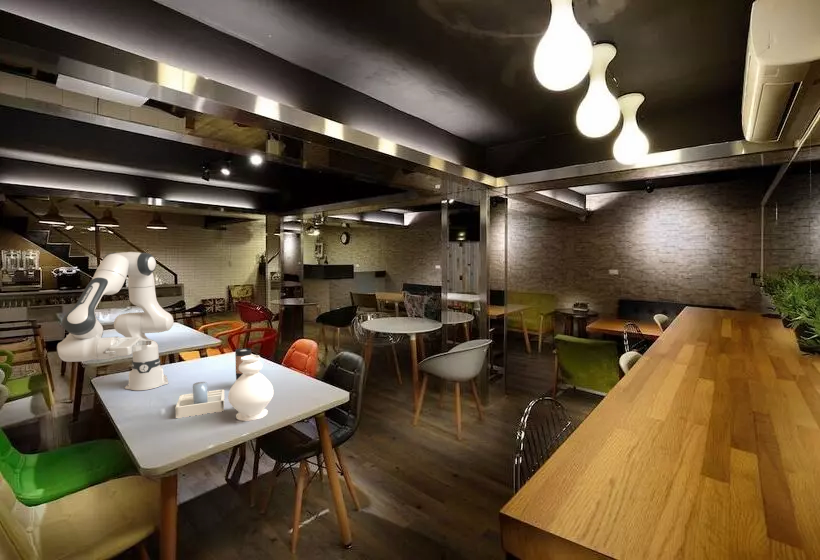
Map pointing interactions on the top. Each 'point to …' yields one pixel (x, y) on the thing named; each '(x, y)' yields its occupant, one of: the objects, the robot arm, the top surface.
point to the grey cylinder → (200, 393)
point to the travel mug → (239, 354)
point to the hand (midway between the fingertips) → (149, 344)
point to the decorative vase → (250, 390)
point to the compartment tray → (190, 409)
